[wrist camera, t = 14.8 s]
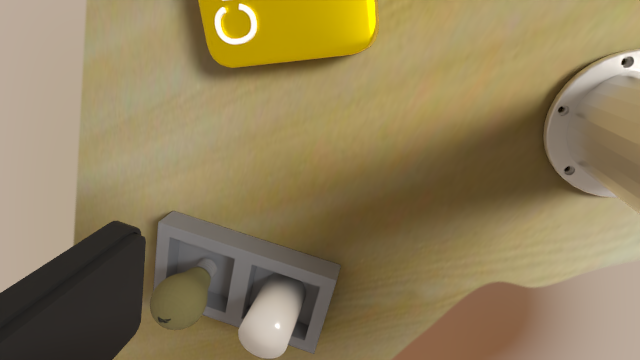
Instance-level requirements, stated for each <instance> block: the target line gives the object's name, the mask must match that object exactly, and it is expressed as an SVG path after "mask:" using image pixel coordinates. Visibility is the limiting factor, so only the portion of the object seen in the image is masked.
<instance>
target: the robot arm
mask: <svg viewBox="0 0 640 360" xmlns="http://www.w3.org/2000/svg"><path fill="white" fill-rule="evenodd" d="M623 59H625V62H624V63H623V64H622V65H621V62H622V60H623ZM561 106H562V107H563V109H562V111H560V112H558V109H559V108H560V107H561ZM543 139H544V147H545V151H546V154H547V157H548V160H549V161H550V163H551V165H552V166H553V168H554V169H555V171H556V172H557V173H558V174H559V175H560V176H561V177H562V178H563V179H565V180H566V181H567V182H568V183H570V184H571V185H572V186H574V187H576V188H578V189H580V190H582V191H584V192H586V193H590V194H593V195H597V196H603V197H612V198H620V199H621V200H622V201H624V202H625V203H626V204H627V205H629V206H630V207H631V208H633V209H634V210H635V211H637V212H638V213H639V214H640V49H633V50H625V51H622V52H619V53H615V54H612V55H608V56H606V57H604V58H602V59H600V60H598V61H596V62H593V63H592V64H590V65H589V66H587V67H586V68H584V69H583V70H581V71H580V72H578V73H577V74H576V75H575V76H574V77H573V78H572V79H571V80H569V81H568V82H567V83H566V84H565V86H564V87H563V88H562V89H561V91H560V92H559V93H558V94H557V96H556V97H555V99H554V101H553V103H552V105H551V107H550V108H549V111H548V114H547V117H546V120H545V124H544V133H543ZM568 166H569V167H568ZM566 167H568V169H566V170H564V169H565V168H566ZM145 244H146V241H145V237H143V236H141V231H140V229H139V228H137V227H134V226H131V225H128V224H125V223H122V222H119V221H113V222H111V223H109V224H107V225H106V226H104V227H103V228H101V229H99V230H98V231H96V232H95V233H93V234H92V235H90V236H89V237H87V238H85V239H84V240H82V241H81V242H79V243H78V244H76V245H74V246H73V247H71V248H70V249H69V250H67V251H65V252H64V253H62V254H60V255H59V256H57V257H56V258H54V259H53V260H51V261H50V262H48V263H47V264H45V265H43V266H42V267H40V268H39V269H37V270H36V271H34V272H33V273H31V274H29V275H28V276H26V277H25V278H23V279H22V280H20V281H18V282H17V283H16V284H14V285H12V286H11V287H9V288H8V289H6V290H4V291H3V292H1V293H0V360H112V359H113V358H114V357H115V356H116V355H117V354H118V353H119V352H120V351H121V349H122V348H123V347H124V346H125V345H126V344H127V343H128V342H129V341H130V339H131V338H132V337H133V336H134V335H135V333H136V332H137V330H138V328H139V325H140V322H141V311H142V294H143V277H144V261H145Z"/></svg>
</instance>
